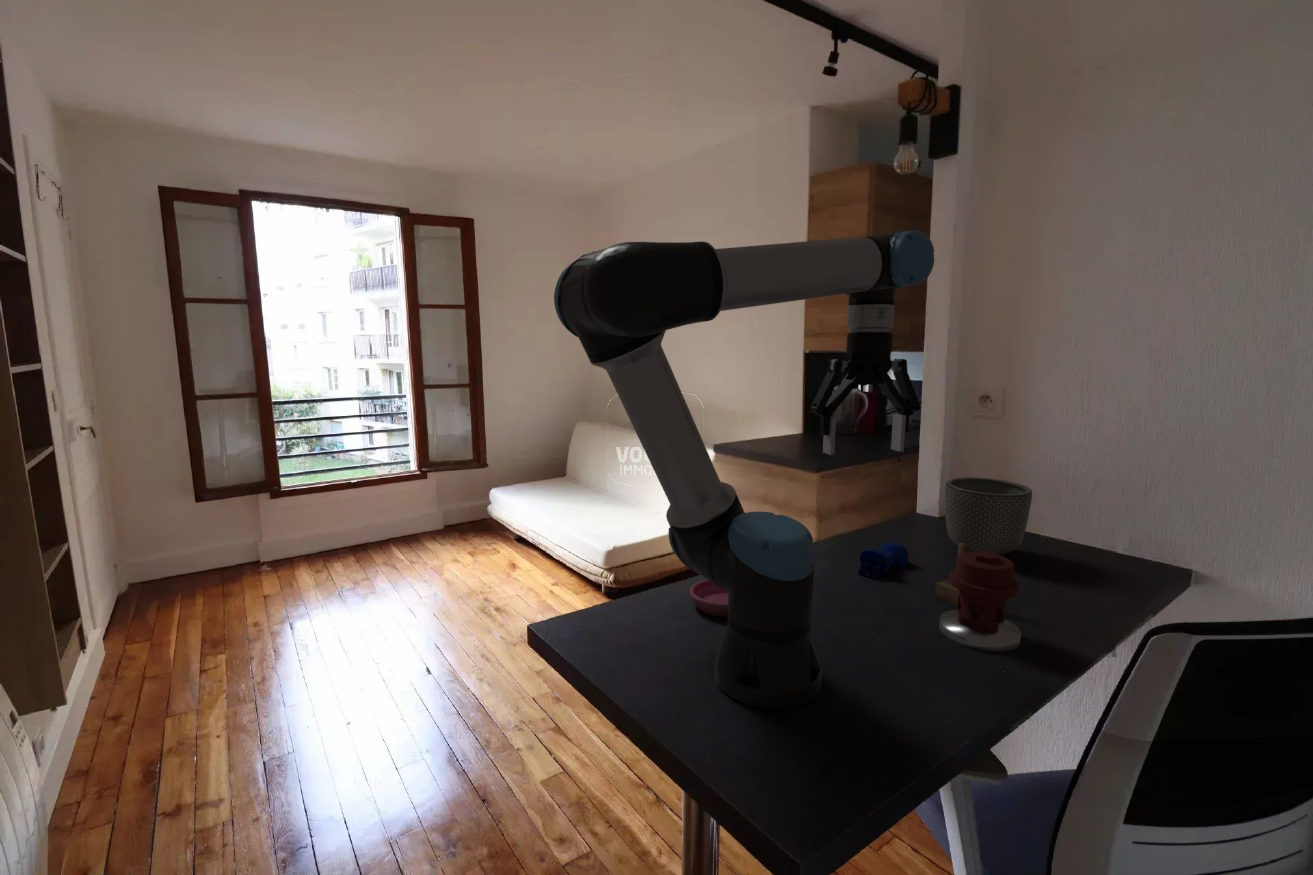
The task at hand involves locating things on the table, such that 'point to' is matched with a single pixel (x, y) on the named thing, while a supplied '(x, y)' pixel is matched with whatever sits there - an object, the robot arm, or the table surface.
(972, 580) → the mechanical component
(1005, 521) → the planter
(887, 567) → the toy
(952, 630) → the grey round disc
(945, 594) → the brown wooden peg block
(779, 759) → the table surface
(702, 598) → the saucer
